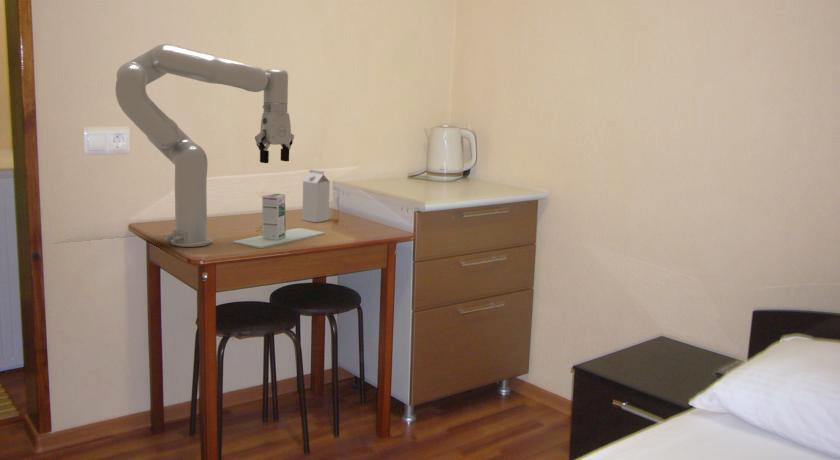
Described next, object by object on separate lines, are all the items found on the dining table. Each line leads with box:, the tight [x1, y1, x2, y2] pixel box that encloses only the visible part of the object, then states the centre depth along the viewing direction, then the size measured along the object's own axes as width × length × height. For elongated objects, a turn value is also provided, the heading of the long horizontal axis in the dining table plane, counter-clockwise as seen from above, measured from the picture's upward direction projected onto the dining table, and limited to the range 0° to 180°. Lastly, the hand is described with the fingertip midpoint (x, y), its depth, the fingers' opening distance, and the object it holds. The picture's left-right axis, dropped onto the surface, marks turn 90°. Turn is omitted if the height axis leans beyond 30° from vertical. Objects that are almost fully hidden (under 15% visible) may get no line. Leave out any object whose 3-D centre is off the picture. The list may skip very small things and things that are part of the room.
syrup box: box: [261, 193, 286, 240], centre depth 254 cm, size 6×6×14 cm
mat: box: [232, 227, 326, 249], centre depth 258 cm, size 32×12×1 cm, turn 148°
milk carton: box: [302, 169, 331, 223], centre depth 292 cm, size 7×7×19 cm
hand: (274, 161), depth 251 cm, fingers open, 9 cm apart
